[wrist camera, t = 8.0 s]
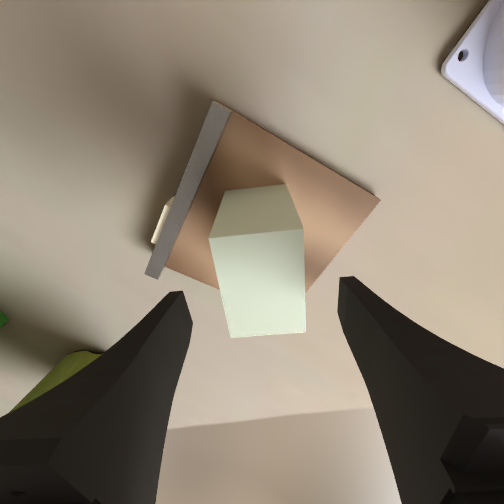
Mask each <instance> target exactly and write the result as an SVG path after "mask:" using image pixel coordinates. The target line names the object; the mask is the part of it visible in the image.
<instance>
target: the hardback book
mask: <svg viewBox="0 0 504 504" xmlns="http://www.w3.org/2000/svg"><path fill="white" fill-rule="evenodd" d="M8 320H10V319H8V318H7V317H6V316H5V315H4V314H3V313H2V312H1V311H0V327H2V326H3V325H4V324H5V323H6V322H7V321H8Z"/></svg>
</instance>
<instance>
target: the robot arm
mask: <svg viewBox="0 0 504 504" xmlns="http://www.w3.org/2000/svg"><path fill="white" fill-rule="evenodd" d="M460 51H462V52H463V57H462V59H461V60H460V61H459V60H458V54H459V52H460ZM441 73H442V75H443V76H444V77H445V78H446V79H448V80H449V81H450V82H451V83H453V84H454V85H455V86H456V87H458V88H459V89H460V90H461V91H463V92H464V93H465V94H466V95H468V96H469V97H470V98H471V99H473V100H474V101H475V102H476V103H478V104H479V105H480V106H481V107H483V108H484V109H485V110H486V111H488V112H489V113H490V114H491V115H493V116H494V117H495V118H496V119H498V120H499V121H500V122H501V123H503V124H504V0H489V1H488V3H487V4H486V5H485V7H484V8H483V9H482V11H481V12H480V13H479V15H478V16H477V18H476V19H475V20H474V22H473V23H472V24H471V26H470V27H469V28H468V30H467V31H466V32H465V34H464V35H463V37H462V38H461V39H460V41H459V42H458V43H457V45H456V46H455V47H454V49H453V50H452V52H451V53H450V54H449V56H448V57H447V58H446V60H445V61H444V63H443V65H442V68H441ZM338 315H339V319H340V322H341V326H342V329H343V332H344V335H345V337H346V339H347V342H348V344H349V346H350V349H351V351H352V353H353V356H354V358H355V360H356V362H357V365H358V367H359V369H360V372H361V374H362V376H363V378H364V381H365V383H366V386H367V389H368V391H369V394H370V398H371V401H372V404H373V407H374V410H375V412H376V416H377V419H378V422H379V426H380V429H381V432H382V435H383V439H384V442H385V445H386V449H387V452H388V455H389V459H390V462H391V466H392V469H393V473H394V476H395V480H396V484H397V487H398V491H399V495H400V499H401V502H402V504H504V369H503V368H501V367H499V366H497V365H494V364H492V363H490V362H488V361H485V360H483V359H481V358H479V357H477V356H475V355H473V354H471V353H469V352H467V351H465V350H463V349H461V348H459V347H457V346H455V345H453V344H451V343H449V342H447V341H445V340H444V339H442V338H440V337H438V336H437V335H435V334H433V333H431V332H430V331H428V330H426V329H425V328H423V327H421V326H420V325H418V324H417V323H415V322H413V321H412V320H410V319H409V318H408V317H406V316H405V315H403V314H402V313H400V312H399V311H397V310H396V309H395V308H393V307H392V306H390V305H389V304H388V303H386V302H385V301H384V300H383V299H381V298H380V297H379V296H377V295H376V294H375V293H374V292H372V291H371V290H370V289H369V288H368V287H366V286H365V285H364V284H363V283H362V282H360V281H359V280H358V279H357V278H355V277H354V276H350V277H340V281H339V297H338ZM192 325H193V322H192V319H191V315H190V312H189V309H188V306H187V303H186V300H185V296H184V293H183V291H174V292H169V293H168V294H167V295H166V296H165V297H164V298H163V299H162V300H161V301H160V302H159V303H158V304H157V305H156V306H155V307H154V308H153V309H152V310H151V311H150V312H149V313H148V314H147V315H146V316H145V317H144V318H143V319H142V320H141V321H140V322H139V323H138V324H137V325H136V326H135V327H133V328H132V329H131V330H130V331H129V332H128V333H127V334H126V335H125V336H124V337H122V338H121V339H120V340H119V341H118V342H117V343H116V344H114V345H113V346H112V347H111V348H109V349H108V350H107V351H106V352H104V353H103V354H102V355H100V356H99V357H98V358H97V359H95V360H94V361H92V362H91V363H90V364H88V365H87V366H85V367H84V368H82V369H81V370H80V371H78V372H77V373H75V374H74V375H72V376H71V377H69V378H68V379H66V380H65V381H63V382H62V383H60V384H58V385H57V386H55V387H54V388H52V389H50V390H49V391H47V392H45V393H44V394H42V395H40V396H39V397H37V398H35V399H33V400H32V401H30V402H28V403H26V404H25V405H23V406H21V407H19V408H17V409H15V410H13V411H12V412H10V413H8V414H6V415H4V416H2V417H1V418H0V504H155V502H156V494H157V487H158V480H159V473H160V466H161V461H162V454H163V448H164V443H165V437H166V431H167V426H168V421H169V416H170V411H171V406H172V401H173V397H174V393H175V389H176V386H177V383H178V380H179V376H180V373H181V370H182V367H183V363H184V360H185V357H186V353H187V350H188V347H189V343H190V338H191V332H192Z"/></svg>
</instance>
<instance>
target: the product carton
mask: <svg viewBox="0 0 504 504" xmlns="http://www.w3.org/2000/svg"><path fill="white" fill-rule="evenodd" d="M208 239H209V243H210V248H211V252H212V257H213V261H214V266H215V270H216V274H217V279H218V283H219V288H220V292H221V297H222V301H223V306H224V310H225V315H226V319H227V324H228V328H229V333H230V337H231V338H236V337H249V336H262V335H276V334H289V333H303V332H306V317H305V261H304V228H303V225H302V223H301V220H300V218H299V215H298V213H297V210H296V208H295V205H294V203H293V200H292V198H291V195H290V193H289V190H288V188H287V185H286V184H281V185H273V186H264V187H255V188H246V189H237V190H228V191H225V193H224V196H223V199H222V201H221V204H220V207H219V210H218V213H217V215H216V218H215V221H214V224H213V227H212V230H211V232H210V235H209V238H208Z"/></svg>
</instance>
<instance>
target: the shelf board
mask: <svg viewBox="0 0 504 504" xmlns="http://www.w3.org/2000/svg"><path fill="white" fill-rule="evenodd" d="M281 184H286V185H287V188H288V190H289V193H290V195H291V198H292V200H293V203H294V205H295V208H296V210H297V213H298V215H299V218H300V220H301V223H302V225H303V228H304V261H305V293H306V292H307V290H308V289H309V288H310V287H311V285H312V284H313V283H314V282H315V281H316V279H317V278H318V277H319V276H320V274H321V273H322V272H323V271H324V269H325V268H326V267H327V266H328V265H329V263H330V262H331V261H332V260H333V258H334V257H335V256H336V255H337V253H338V252H339V251H340V250H341V249H342V247H343V246H344V245H345V244H346V242H347V241H348V240H349V239H350V237H351V236H352V235H353V234H354V233H355V231H356V230H357V229H358V228H359V226H360V225H361V224H362V223H363V221H364V220H365V219H366V218H367V217H368V215H369V214H370V213H371V212H372V210H373V209H374V208H375V207H376V205H377V204H378V203H379V202H380V201H381V200H380V199H379V198H377V197H376V196H374V195H373V194H371V193H369V192H368V191H366V190H364V189H363V188H361V187H359V186H358V185H356V184H354V183H353V182H351V181H349V180H348V179H346V178H344V177H343V176H341V175H339V174H338V173H336V172H334V171H333V170H331V169H329V168H328V167H326V166H324V165H323V164H321V163H319V162H318V161H316V160H314V159H313V158H311V157H309V156H308V155H306V154H304V153H303V152H301V151H299V150H298V149H296V148H294V147H293V146H291V145H289V144H288V143H286V142H284V141H283V140H281V139H279V138H278V137H276V136H274V135H273V134H271V133H269V132H268V131H266V130H264V129H263V128H261V127H259V126H258V125H256V124H254V123H253V122H251V121H249V120H248V119H246V118H244V117H243V116H241V115H239V114H238V113H236V112H234V111H233V110H231V109H229V108H228V107H226V106H224V105H223V104H221V103H219V102H215V101H212V104H211V106H210V109H209V111H208V114H207V116H206V119H205V121H204V124H203V126H202V129H201V131H200V134H199V137H198V139H197V142H196V144H195V147H194V149H193V152H192V154H191V157H190V159H189V162H188V164H187V167H186V169H185V172H184V175H183V177H182V180H181V182H180V185H179V187H178V190H177V192H176V195H175V197H174V196H173V197H172V198H171V199H170V200H169V201H168V202H167V203H166V204H165V206H164V209H163V212H162V214H161V217H160V219H159V222H158V225H157V227H156V230H155V233H154V235H153V238H152V240H151V243H154V244H156V246H155V248H154V251H153V253H152V256H151V258H150V261H149V263H148V266H147V268H146V271H145V275H148V276H150V277H153V278H155V279H158V278H159V277H160V275H161V273H162V271H163V270H164V268H165V267H167V268H169V269H172V270H174V271H177V272H179V273H181V274H184V275H186V276H188V277H191V278H193V279H196V280H198V281H200V282H203V283H205V284H208V285H210V286H212V287H215V288H217V289H219V290H220V288H219V283H218V279H217V274H216V270H215V266H214V261H213V257H212V252H211V248H210V243H209V239H208V238H209V235H210V232H211V230H212V227H213V224H214V221H215V218H216V215H217V213H218V210H219V207H220V204H221V201H222V199H223V196H224V193H225V191H228V190H237V189H246V188H255V187H264V186H273V185H281Z"/></svg>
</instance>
